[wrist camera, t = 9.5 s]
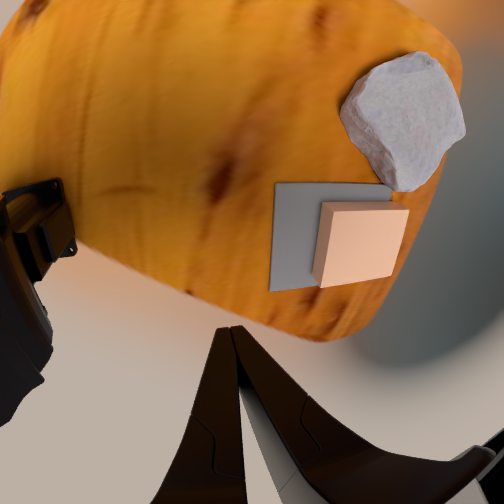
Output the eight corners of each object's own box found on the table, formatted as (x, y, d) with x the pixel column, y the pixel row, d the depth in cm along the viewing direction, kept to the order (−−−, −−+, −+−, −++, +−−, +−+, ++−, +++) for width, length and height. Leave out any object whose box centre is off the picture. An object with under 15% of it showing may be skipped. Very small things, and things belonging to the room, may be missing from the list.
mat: (268, 290, 25) (269, 292, 25) (275, 182, 20) (276, 184, 20) (369, 275, 27) (370, 276, 27) (390, 184, 22) (392, 185, 22)
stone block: (315, 108, 19) (384, 195, 23) (339, 99, 15) (415, 207, 18) (394, 44, 17) (448, 124, 20) (423, 31, 13) (480, 125, 16)
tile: (320, 287, 23) (390, 275, 24) (333, 211, 19) (409, 209, 21) (310, 273, 25) (379, 263, 26) (321, 201, 21) (394, 200, 23)
